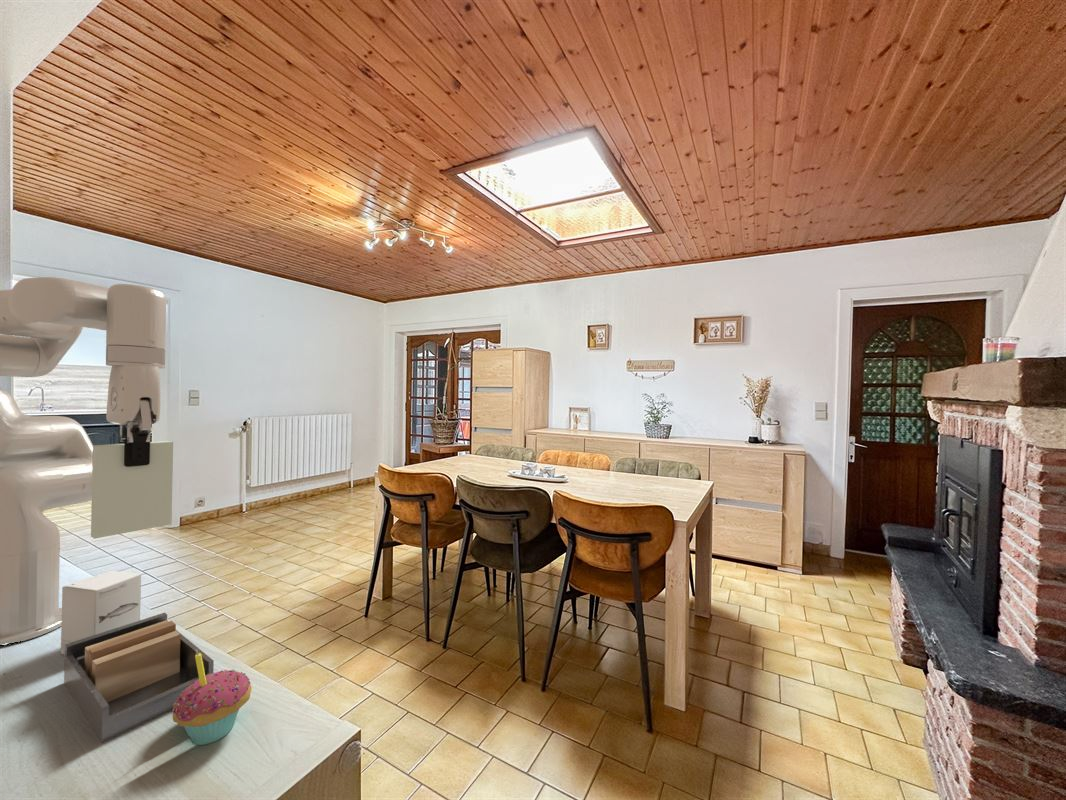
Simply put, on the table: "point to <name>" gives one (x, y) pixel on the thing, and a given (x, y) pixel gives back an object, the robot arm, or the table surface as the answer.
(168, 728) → the table surface
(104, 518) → the grey flat panel
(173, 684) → the bin
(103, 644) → the offcuts
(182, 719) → the cupcake
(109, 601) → the supplement box
